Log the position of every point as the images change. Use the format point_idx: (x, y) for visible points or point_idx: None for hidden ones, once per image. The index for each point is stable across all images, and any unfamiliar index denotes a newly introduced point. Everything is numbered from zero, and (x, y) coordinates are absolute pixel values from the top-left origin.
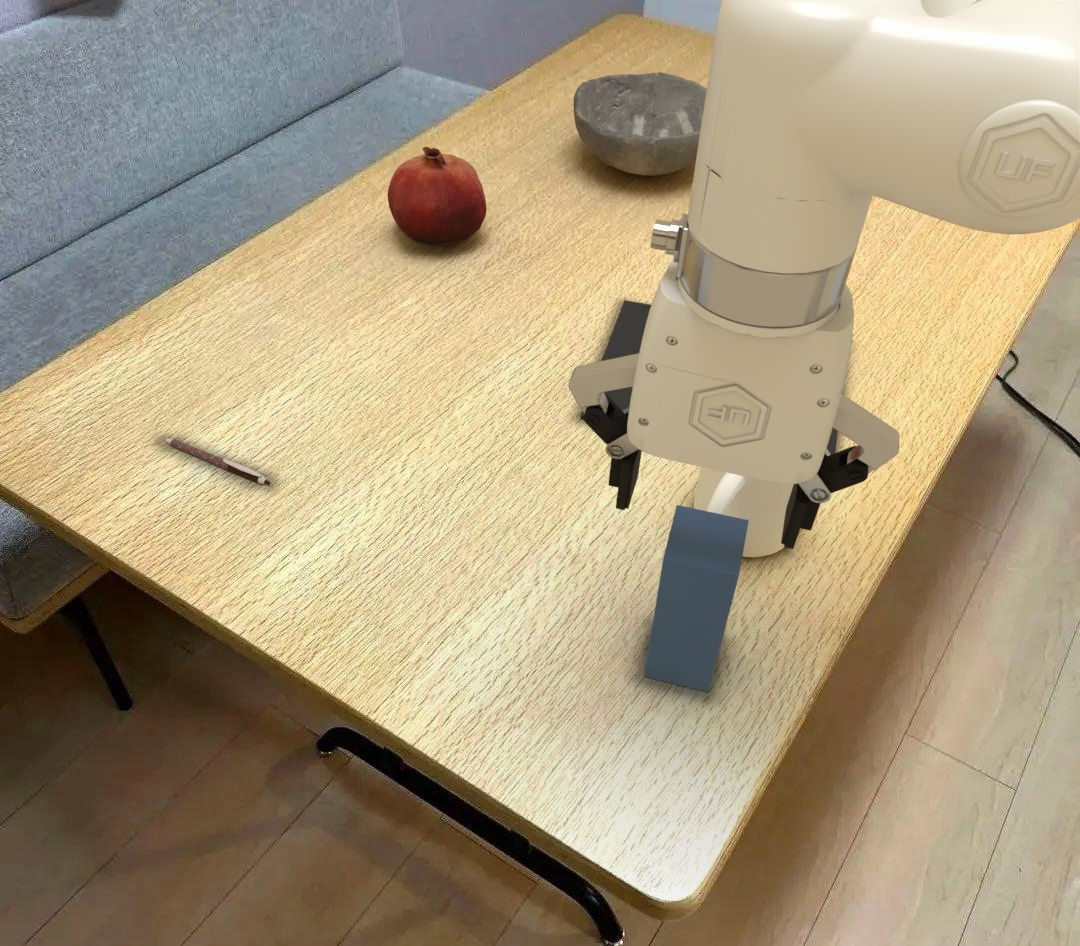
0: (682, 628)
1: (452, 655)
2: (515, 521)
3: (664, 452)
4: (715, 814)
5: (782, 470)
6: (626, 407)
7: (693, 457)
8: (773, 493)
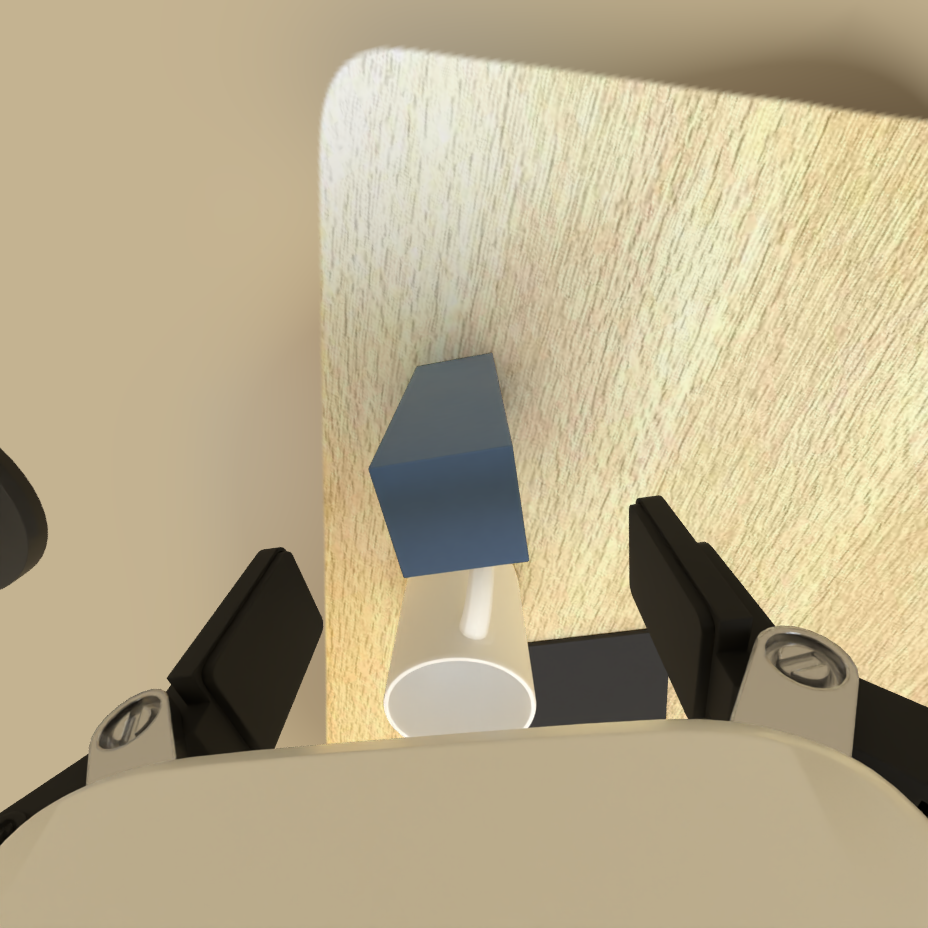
0: (455, 392)
1: (736, 266)
2: (705, 483)
3: (674, 776)
4: (343, 208)
5: (73, 873)
6: (624, 654)
7: (516, 800)
8: (423, 623)
